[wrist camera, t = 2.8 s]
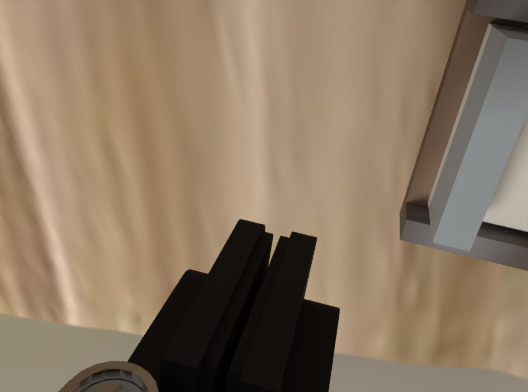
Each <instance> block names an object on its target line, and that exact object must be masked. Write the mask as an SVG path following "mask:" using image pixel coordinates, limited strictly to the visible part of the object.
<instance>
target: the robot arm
mask: <svg viewBox="0 0 528 392" xmlns="http://www.w3.org/2000/svg"><path fill="white" fill-rule="evenodd" d="M272 241H273V234H272V233H268V232H265V225H263V224H259V223H255V222H251V221H247V220H242V219H240V220H239V221H238V222H237V224H236V226H235V228H234V230H233V231H232V233H231V235H230V237H229V238H228V240H227V242H226V244H225V245H224V247H223V249H222V251H221V252H220V254H219V256H218V258H217V259H216V261H215V263H214V265H213V267H212V268H211V270H210V272H209V274H206V273H202V272H198V271H195V270H191V269H189V270H187V271H186V272H185V273H184V275H183V276H182V278H181V279H180V281H179V282H178V284H177V285H176V287H175V288H174V290H173V291H172V293H171V295H170V296H169V298H168V299H167V301H166V302H165V304H164V305H163V307H162V309H161V310H160V312H159V313H158V315H157V316H156V318H155V319H154V321H153V323H152V324H151V326H150V327H149V329H148V330H147V332H146V333H145V335H144V337H143V338H142V340H141V341H140V343H139V344H138V346H137V347H136V349H135V350H134V352H133V354H132V355H131V357H130V358H129V360H128V361H127V362H125V361H109V362H105V363H100V364H96V365H93V366H91V367H89V368H87V369H85V370H82V371H81V372H80V373H78V374H77V375H76V376H74V377H73V378H72V379H71V380H69V381H68V382H67V383H66V384H65V386H64V387H63V388H62V389H61V390H60V391H59V392H328V391H329V384H330V377H331V370H332V363H333V356H334V349H335V342H336V335H337V327H338V320H339V312H340V308H337V307H333V306H329V305H326V304H322V303H318V302H314V301H310V300H306V299H304V296H305V291H306V287H307V282H308V278H309V273H310V269H311V264H312V260H313V255H314V251H315V246H316V241H317V237H313V236H309V235H305V234H301V233H297V232H292V233H291V235H290V238H288V237H284V236H280V238H279V241H278V243H277V246H276V249H275V251H274V254H273V256H272V259H271V261H270V264H269V259H270V253H271V247H272ZM268 265H269V267H268Z"/></svg>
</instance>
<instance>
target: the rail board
mask: <svg viewBox="0 0 528 392" xmlns="http://www.w3.org/2000/svg"><path fill="white" fill-rule="evenodd" d="M489 23H491V24H497V25H503V26H509V27H515V28H521V29H527V30H528V0H467V1H466V4H465V8H464V11H463V14H462V17H461V20H460V23H459V27H458V30H457V33H456V36H455V39H454V43H453V46H452V49H451V52H450V55H449V58H448V62H447V65H446V68H445V71H444V74H443V78H442V81H441V84H440V87H439V90H438V93H437V97H436V100H435V103H434V106H433V109H432V113H431V116H430V119H429V122H428V125H427V129H426V132H425V135H424V138H423V141H422V144H421V148H420V151H419V154H418V157H417V160H416V164H415V167H414V170H413V173H412V176H411V179H410V183H409V186H408V189H407V192H406V195H405V199H404V202H403V205H402V208H401V211H400V240H403V241H407V242H411V243H415V244H420V245H424V246H428V247H432V248H436V249H440V250H444V251H448V252H453V253H457V254H461V255H465V256H469V257H473V258H477V259H481V260H486V261H490V262H494V263H498V264H502V265H506V266H510V267H514V268H519V269H523V270H527V271H528V232H527V231H523V230H518V229H514V228H509V227H505V226H501V225H496V224H492V223H488V222H483V221H482V224H481V226H480V228H479V231H478V233H477V236H476V238H475V240H474V243H473V245H472V248H471V250H470V252H469V251H465V250H461V249H457V248H453V247H448V246H444V245H440V244H436V243H432V234H431V225H430V217H429V208H428V199H429V197H430V194H431V191H432V188H433V185H434V182H435V179H436V176H437V173H438V170H439V167H440V164H441V161H442V159H443V156H444V153H445V150H446V147H447V144H448V141H449V138H450V135H451V132H452V129H453V126H454V124H455V121H456V118H457V115H458V112H459V109H460V106H461V103H462V100H463V97H464V94H465V91H466V89H467V86H468V83H469V80H470V77H471V74H472V71H473V68H474V65H475V62H476V59H477V56H478V54H479V51H480V48H481V45H482V42H483V39H484V36H485V33H486V30H487V27H488V24H489Z"/></svg>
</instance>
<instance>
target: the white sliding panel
mask: <svg viewBox="0 0 528 392" xmlns="http://www.w3.org/2000/svg"><path fill="white" fill-rule="evenodd" d="M428 208H429V217H430V225H431V234H432V243H436V244H440V245H444V246H448V247H453V248H457V249H461V250H465V251H469V252H470V250H471V248H472V245H473V243H474V240H475V238H476V236H477V233H478V231H479V228H480V226H481V224H482V221H483V222H488V223H492V224H496V225H501V226H505V227H509V228H514V229H518V230H523V231H527V232H528V30H527V29H521V28H515V27H509V26H503V25H497V24H491V23H489V24H488V27H487V30H486V33H485V36H484V39H483V42H482V45H481V48H480V51H479V54H478V56H477V59H476V62H475V65H474V68H473V71H472V74H471V77H470V80H469V83H468V86H467V89H466V91H465V94H464V97H463V100H462V103H461V106H460V109H459V112H458V115H457V118H456V121H455V124H454V126H453V129H452V132H451V135H450V138H449V141H448V144H447V147H446V150H445V153H444V156H443V159H442V161H441V164H440V167H439V170H438V173H437V176H436V179H435V182H434V185H433V188H432V191H431V194H430V197H429V199H428Z"/></svg>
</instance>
